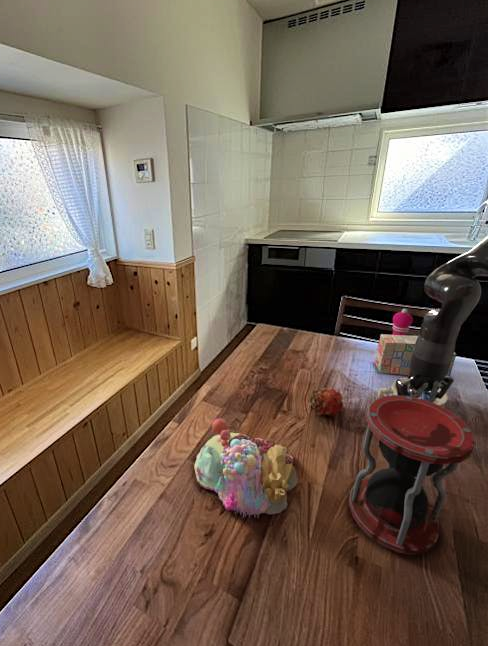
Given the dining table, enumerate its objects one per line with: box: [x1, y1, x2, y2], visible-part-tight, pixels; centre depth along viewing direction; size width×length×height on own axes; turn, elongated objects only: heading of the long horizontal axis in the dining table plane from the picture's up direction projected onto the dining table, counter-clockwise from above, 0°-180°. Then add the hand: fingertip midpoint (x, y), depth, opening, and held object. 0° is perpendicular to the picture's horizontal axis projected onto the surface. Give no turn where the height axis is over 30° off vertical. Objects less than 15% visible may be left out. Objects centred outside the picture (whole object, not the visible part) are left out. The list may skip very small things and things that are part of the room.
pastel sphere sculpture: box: [193, 418, 299, 519], centre depth 80 cm, size 25×24×9 cm
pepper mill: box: [391, 308, 414, 335], centre depth 121 cm, size 7×7×20 cm
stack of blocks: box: [374, 333, 457, 378], centre depth 115 cm, size 21×6×12 cm, turn 76°
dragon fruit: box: [309, 387, 344, 418], centre depth 99 cm, size 8×8×12 cm
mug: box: [376, 376, 449, 409], centre depth 100 cm, size 17×14×6 cm
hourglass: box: [348, 395, 476, 556], centre depth 65 cm, size 16×16×25 cm
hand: (415, 411), depth 86 cm, fingers closed on block, 4 cm apart
